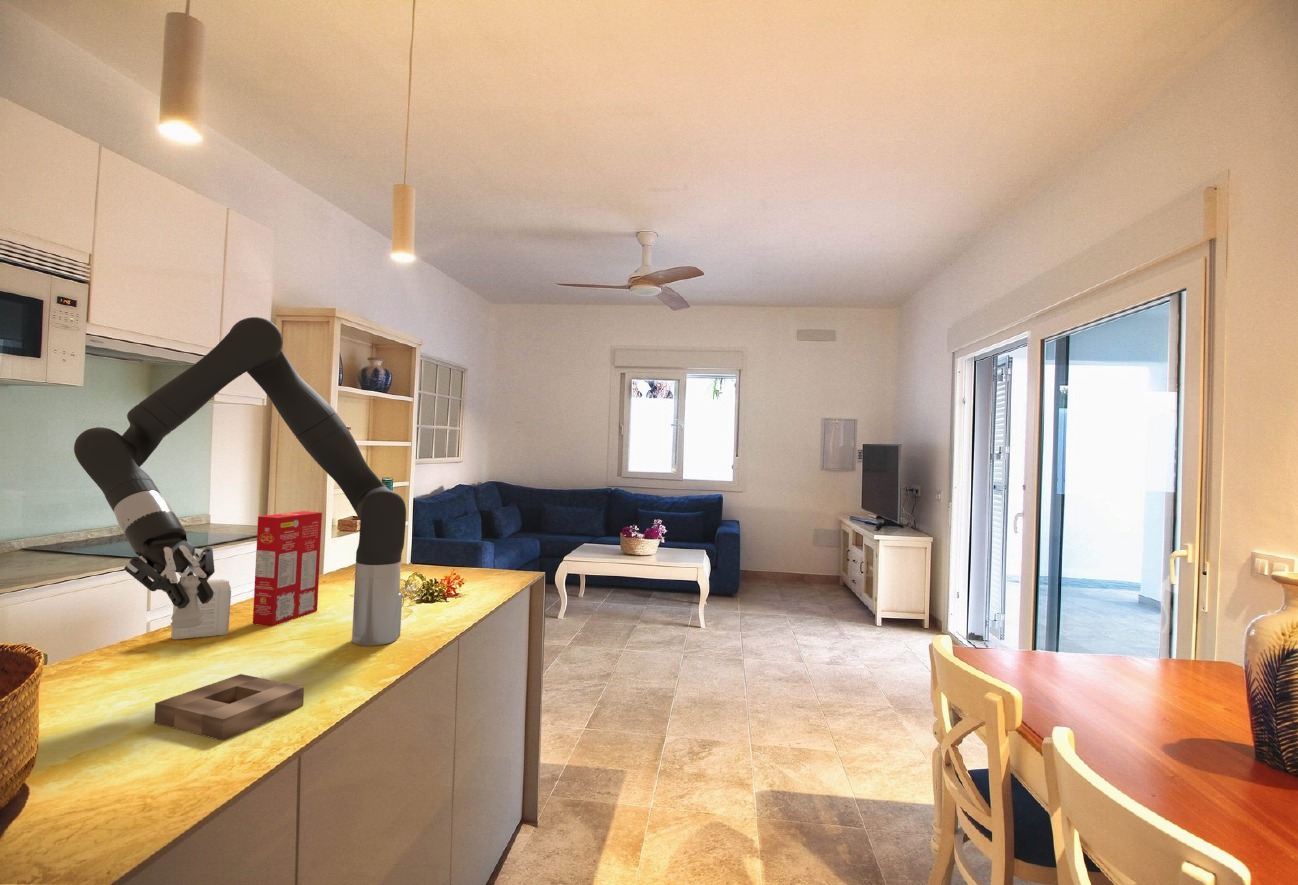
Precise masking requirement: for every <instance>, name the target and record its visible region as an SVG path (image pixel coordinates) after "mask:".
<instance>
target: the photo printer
mask: <svg viewBox="0 0 1298 885" xmlns="http://www.w3.org/2000/svg"><path fill="white" fill-rule="evenodd" d="M207 582H208V584H209V585H210V587H211V589H212V590H213V593H214V594H213V597H212V599H211V600H210V601H209V602H208V603H205V604H202V603H201V601H200V600H199V598H198V596H197V603H198V608H199V609H200V612H202V615H203V616H202V617H201V618H200V619H202V620H203V622H202V623H201V624H200V625H198V626H195V627H191V628H174V627H172V626H171V636H170V637H171V639H172V640H182V639H191V638H193V639H194V637H195V638H205V637H213V636H215V637H217V635H218V636H226V635H227V634H229V631H230V630H229V627H230V616H231V602H232V600H231V599H232V589H231V588H232V587H231V585H230V581H229V580H225V579H223V578H213V577H210V578H209V579H208V580H207ZM172 605H173V604H172ZM176 609H177V606H175V605H173V607H172V615H173V614H174V613H175V611H176ZM171 620H172V619H171ZM172 622H173V620H172V621H171V623H172Z"/></svg>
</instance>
